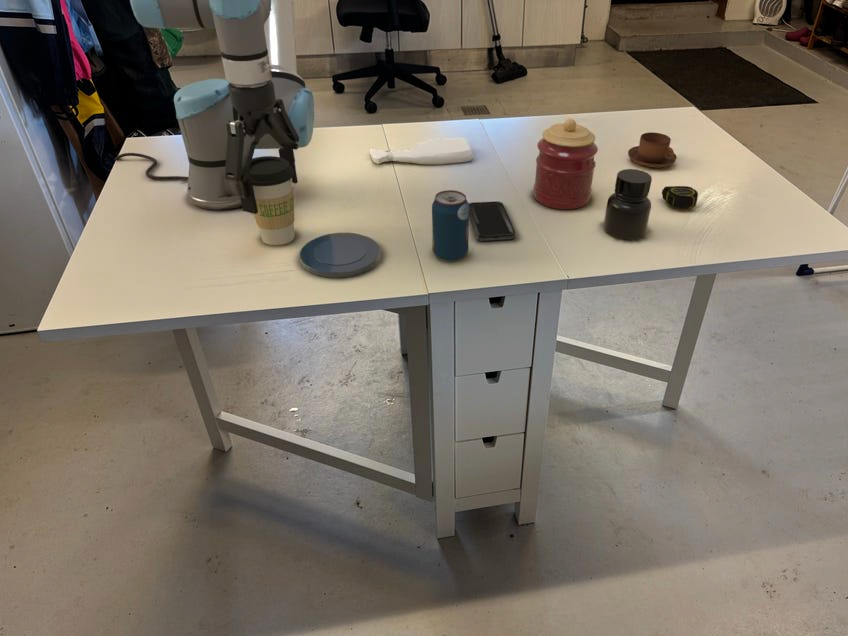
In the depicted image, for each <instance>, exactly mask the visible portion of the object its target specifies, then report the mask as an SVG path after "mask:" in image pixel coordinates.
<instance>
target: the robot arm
mask: <svg viewBox="0 0 848 636" xmlns="http://www.w3.org/2000/svg"><path fill="white" fill-rule="evenodd" d="M129 3H130V6H131V10H132V12H133V16H134V17H135V19H136V21H137V22H138V24H140V25H141V26H142V27H145V28H150V29H151V28H152V29H162V30H166V29H215V32H216V36H217V41H218V45H219V50H220V55H221V57H220V58H221V63H222V66H223V72H224V77H225V79H223V78H209V79H205V80H200V81H196V82H195V81H194V82H192V83H190V84H187V85H185V86H183V87H181V88H180V89H177V91H176V92H175V94H174V96H173V103H174V108H175V117H176V120H177V122H178V125H179V129H180V134H181V137H182V140H183V144H184V149H185V152H186V156H187V160H188V164H189V167H188V176H180V175H179V176H177V175H174V176H172V175H169V176H167V175H166V176H159V175H152V174H150V173H151V171H152V170H153V169H154V168H155V167H156V166H157V165H158V161H157V159H156V158H154V157H152V156H150V155H146V154H143V153H137V152H125V153H121V154H118V155H117V156H116V157H115V158H114V161H119V160H121V158H125V157H138V158H143V159H147V160H148V161H149V160H150V161H151V162H152V164H151V165H150V166H148V168H147V169H146V171H145V176H146V177H148V178H150V179H152V180H158V181H159V180H163V181H167V180H183V181H187V188H186V192H187V195H188V198H189V199H188V200H189V202H190V203H191V204H192V205H194V206H195V207H197V208H201V209H205V210H213V211H215V210H216V211H217V210H220V211H221V210H222V211H223V210H231V209H236V208H237V209H238V208H240V207H242V212H245V213H249V214H252V215H253V214H256V213H258V209H257V204H256V199H255V194H254V189H253V185H252V180H251V179H249V178H248V175H249V171H250V167H251V163H252V159H253V158H254V153H255V150H278V155H279V156H278V157H280V158H284V159H286V160H287V161H288V162H289V165H290V166H291V167H292V168H293V171H294V176H293V177H292V184H298V183H299V181H298V175H297V169H296V157H295V151H298V149H300V148H306V147H307V146H309V144H311V141H312V138H313V133H314V126H315V125H314V124H315V98H314V94H313V91H312V90H311V89H310V88H308V87H306V81H305V80H304V79H303V78H302V77H301V76H300V75H299V74H298V63H297V44H296V27H295V8H294V0H129ZM241 172H242V174H241Z"/></svg>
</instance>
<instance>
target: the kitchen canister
mask: <svg viewBox="0 0 848 636" xmlns="http://www.w3.org/2000/svg"><path fill="white" fill-rule="evenodd" d="M576 122H577V121H576V120H575V119H573V118H568V119H565V121H564V122H563V123H562V122H561V123H556V124H553V125H550V127H548V128H546V129H544V130H543V131H542V134H541V135H542V138H541V139H539V140H538V142H537V143H536V145H537V149H538V155H537V156H536V158H535V162H536V165H535V166H536V167H535V179H534V183H533V196H534V199H535V200H536V201H537V202H538V203H540V204H541V205H544V206H545V207H548V208H552V209H556V210H557V209H558V210H573V209H579V208H582V207H584V206H586V205H587V204H588V203H589V202H590V198H591V196H592V191H593V189H592V186H593V180H594V173H595V168H596V166H597V165H596V161H595V156H596V154H597V153H598V152H599V151H598V150H599V149H598V146H597V144H596V143H595V141H596V136H595V133H593V132H592V131H591V130H590V129H588V128H587V127H585V126H584V125H581V124H577V123H576Z"/></svg>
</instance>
